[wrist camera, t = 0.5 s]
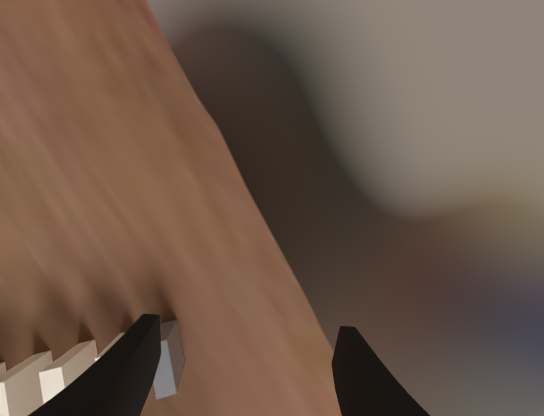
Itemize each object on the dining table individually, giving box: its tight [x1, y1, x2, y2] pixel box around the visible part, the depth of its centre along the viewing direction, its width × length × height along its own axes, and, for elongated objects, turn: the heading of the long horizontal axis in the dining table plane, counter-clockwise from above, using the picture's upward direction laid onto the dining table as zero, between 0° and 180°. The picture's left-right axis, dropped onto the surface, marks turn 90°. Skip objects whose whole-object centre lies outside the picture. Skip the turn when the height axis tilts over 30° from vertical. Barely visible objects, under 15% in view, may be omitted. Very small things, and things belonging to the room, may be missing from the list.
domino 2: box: [39, 340, 98, 403], centre depth 28 cm, size 2×4×7 cm, turn 11°
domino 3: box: [153, 319, 185, 400], centre depth 30 cm, size 2×4×7 cm, turn 12°
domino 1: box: [0, 350, 53, 416], centre depth 27 cm, size 2×4×7 cm, turn 12°
